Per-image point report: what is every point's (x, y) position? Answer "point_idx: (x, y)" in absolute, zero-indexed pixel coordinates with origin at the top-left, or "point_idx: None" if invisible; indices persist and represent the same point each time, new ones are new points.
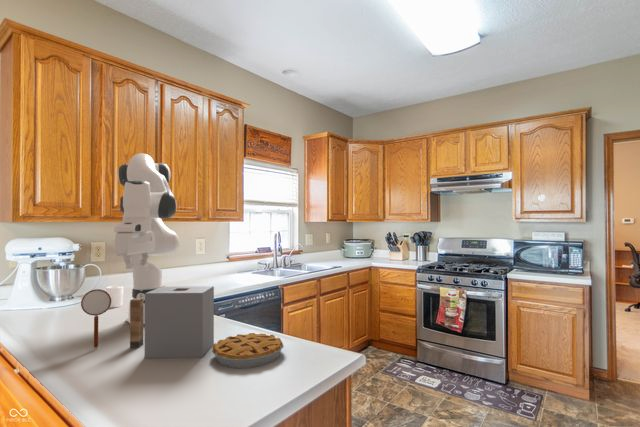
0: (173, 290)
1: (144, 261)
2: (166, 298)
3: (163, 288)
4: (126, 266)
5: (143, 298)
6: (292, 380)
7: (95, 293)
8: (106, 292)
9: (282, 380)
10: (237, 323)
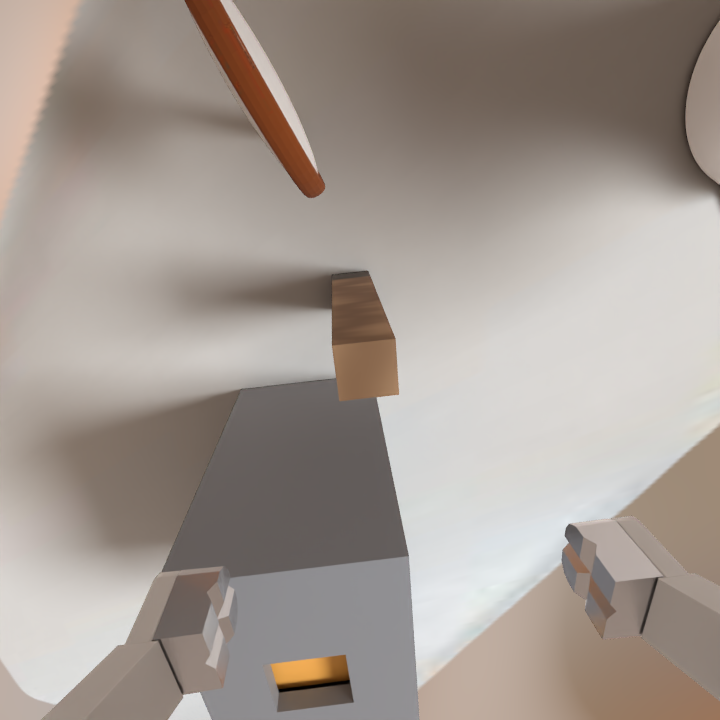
0: (291, 658)
1: (595, 619)
2: None
3: (337, 597)
4: (151, 602)
5: (398, 393)
6: (189, 706)
7: (222, 68)
8: (285, 163)
9: (185, 695)
10: (615, 509)
